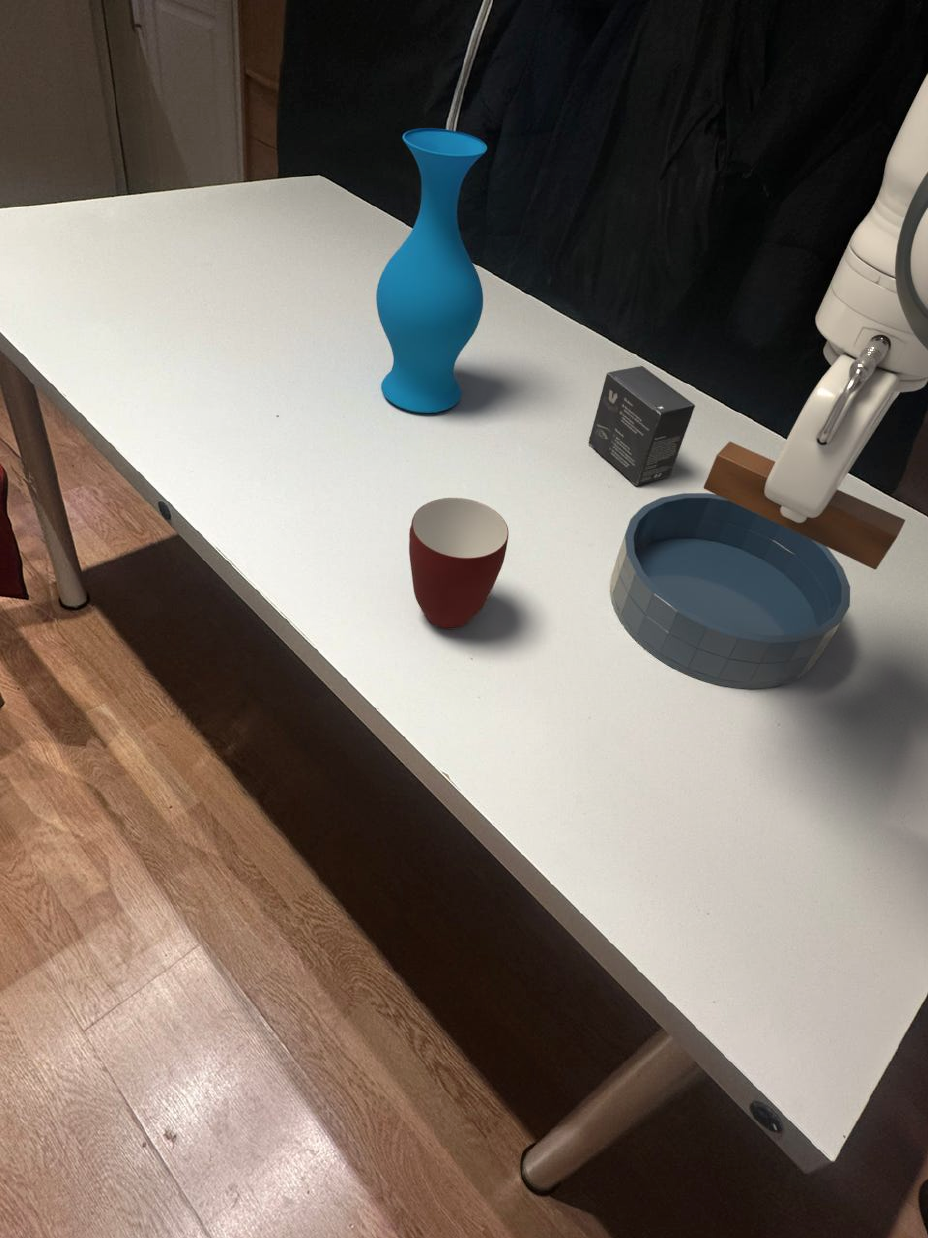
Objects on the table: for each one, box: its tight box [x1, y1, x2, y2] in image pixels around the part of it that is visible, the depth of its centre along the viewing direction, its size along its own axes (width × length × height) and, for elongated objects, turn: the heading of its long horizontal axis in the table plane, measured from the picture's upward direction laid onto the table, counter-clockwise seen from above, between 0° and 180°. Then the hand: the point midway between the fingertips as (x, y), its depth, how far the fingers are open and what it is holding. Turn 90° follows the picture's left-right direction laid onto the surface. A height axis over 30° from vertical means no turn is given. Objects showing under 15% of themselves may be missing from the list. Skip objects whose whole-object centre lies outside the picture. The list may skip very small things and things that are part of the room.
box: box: [587, 365, 696, 486], centre depth 93 cm, size 9×6×10 cm, turn 31°
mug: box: [408, 497, 509, 630], centre depth 71 cm, size 11×8×10 cm
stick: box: [703, 441, 906, 570], centre depth 58 cm, size 13×2×3 cm, turn 55°
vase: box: [375, 127, 488, 414], centre depth 91 cm, size 12×13×28 cm
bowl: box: [609, 492, 851, 690], centre depth 77 cm, size 21×21×6 cm
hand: (801, 502), depth 58 cm, fingers closed on stick, 2 cm apart
